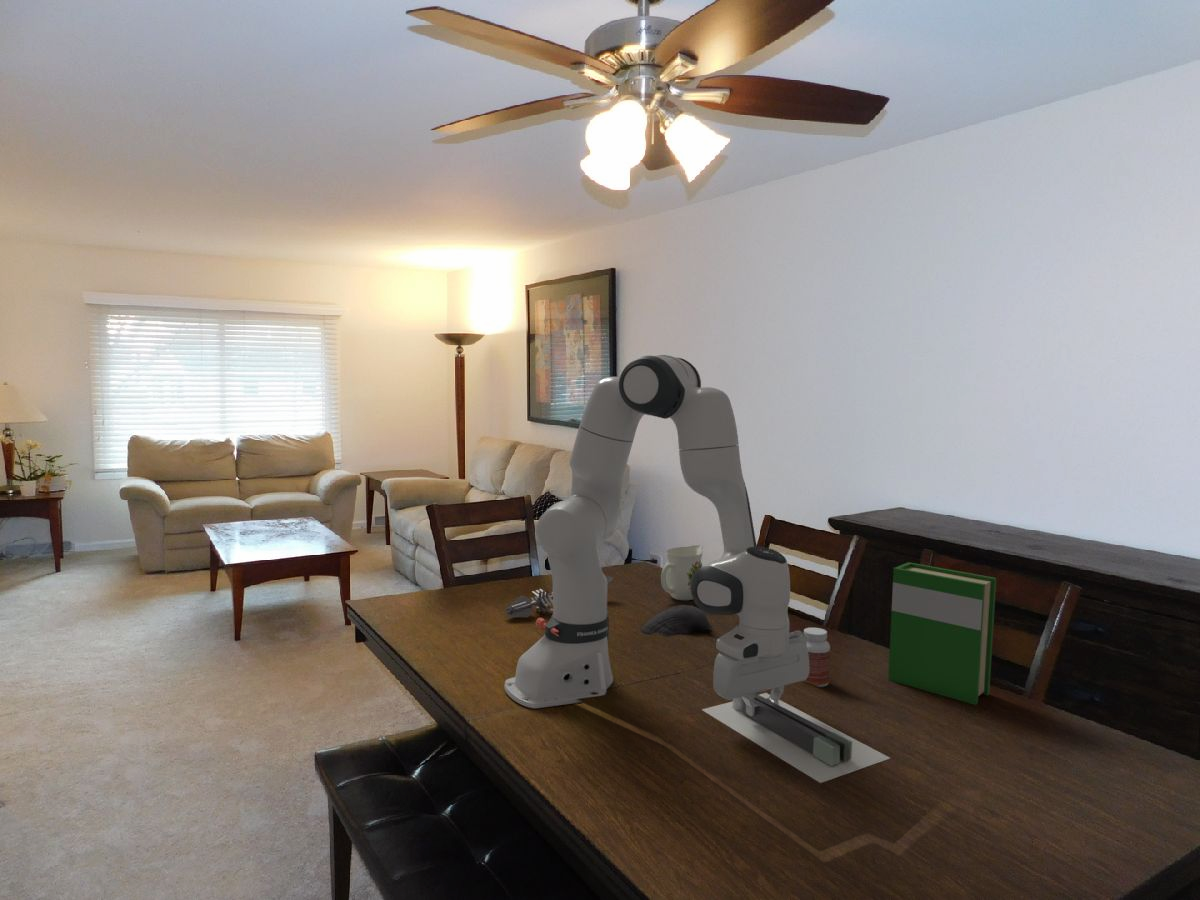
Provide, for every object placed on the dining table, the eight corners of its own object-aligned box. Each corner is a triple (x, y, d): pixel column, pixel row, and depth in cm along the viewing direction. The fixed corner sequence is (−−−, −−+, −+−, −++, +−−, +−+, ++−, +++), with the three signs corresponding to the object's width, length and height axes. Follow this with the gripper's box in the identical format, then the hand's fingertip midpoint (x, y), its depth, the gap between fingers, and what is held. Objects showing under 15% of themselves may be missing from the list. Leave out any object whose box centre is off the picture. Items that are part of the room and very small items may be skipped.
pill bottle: (835, 684, 162) (837, 632, 161) (815, 690, 158) (817, 637, 157) (812, 674, 167) (814, 624, 166) (792, 680, 163) (793, 629, 162)
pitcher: (646, 600, 220) (647, 552, 218) (684, 587, 233) (685, 542, 232) (677, 608, 212) (678, 559, 211) (715, 595, 226) (716, 548, 224)
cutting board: (820, 788, 121) (820, 782, 121) (701, 714, 147) (701, 709, 147) (890, 763, 129) (890, 758, 129) (765, 697, 155) (766, 692, 155)
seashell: (725, 643, 193) (729, 611, 193) (658, 645, 185) (662, 612, 184) (694, 625, 206) (698, 595, 206) (630, 626, 198) (634, 595, 197)
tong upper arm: (750, 711, 145) (751, 695, 145) (757, 708, 146) (758, 693, 146) (843, 761, 127) (844, 744, 126) (851, 758, 128) (852, 741, 127)
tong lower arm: (727, 706, 148) (727, 688, 147) (741, 703, 150) (742, 684, 149) (831, 767, 125) (832, 746, 125) (847, 762, 127) (848, 741, 127)
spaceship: (623, 574, 217) (606, 559, 222) (515, 609, 196) (499, 591, 202) (618, 597, 220) (601, 581, 226) (512, 633, 200) (496, 615, 205)
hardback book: (989, 694, 157) (996, 578, 155) (976, 705, 152) (983, 585, 150) (903, 670, 170) (908, 562, 167) (888, 679, 164) (893, 568, 162)
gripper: (794, 624, 149) (792, 693, 150) (708, 641, 139) (707, 716, 140) (818, 633, 143) (816, 705, 145) (731, 652, 133) (730, 730, 135)
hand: (762, 711), depth 142 cm, fingers open, 3 cm apart
